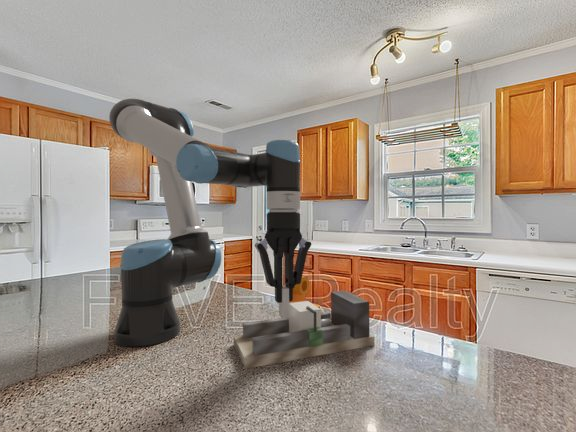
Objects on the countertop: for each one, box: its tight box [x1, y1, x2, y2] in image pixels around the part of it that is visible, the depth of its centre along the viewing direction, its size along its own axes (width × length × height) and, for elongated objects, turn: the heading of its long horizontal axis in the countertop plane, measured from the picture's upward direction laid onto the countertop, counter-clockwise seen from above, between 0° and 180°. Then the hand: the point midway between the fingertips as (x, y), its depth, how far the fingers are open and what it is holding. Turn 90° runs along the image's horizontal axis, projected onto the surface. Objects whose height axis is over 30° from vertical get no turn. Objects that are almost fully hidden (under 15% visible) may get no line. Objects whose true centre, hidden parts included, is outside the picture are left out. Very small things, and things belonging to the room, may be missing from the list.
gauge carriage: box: [289, 300, 331, 332], centre depth 73 cm, size 9×10×7 cm
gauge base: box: [233, 290, 376, 370], centre depth 73 cm, size 30×12×10 cm, turn 110°
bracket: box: [280, 275, 321, 318], centre depth 92 cm, size 11×7×12 cm, turn 147°
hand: (283, 315), depth 72 cm, fingers closed
